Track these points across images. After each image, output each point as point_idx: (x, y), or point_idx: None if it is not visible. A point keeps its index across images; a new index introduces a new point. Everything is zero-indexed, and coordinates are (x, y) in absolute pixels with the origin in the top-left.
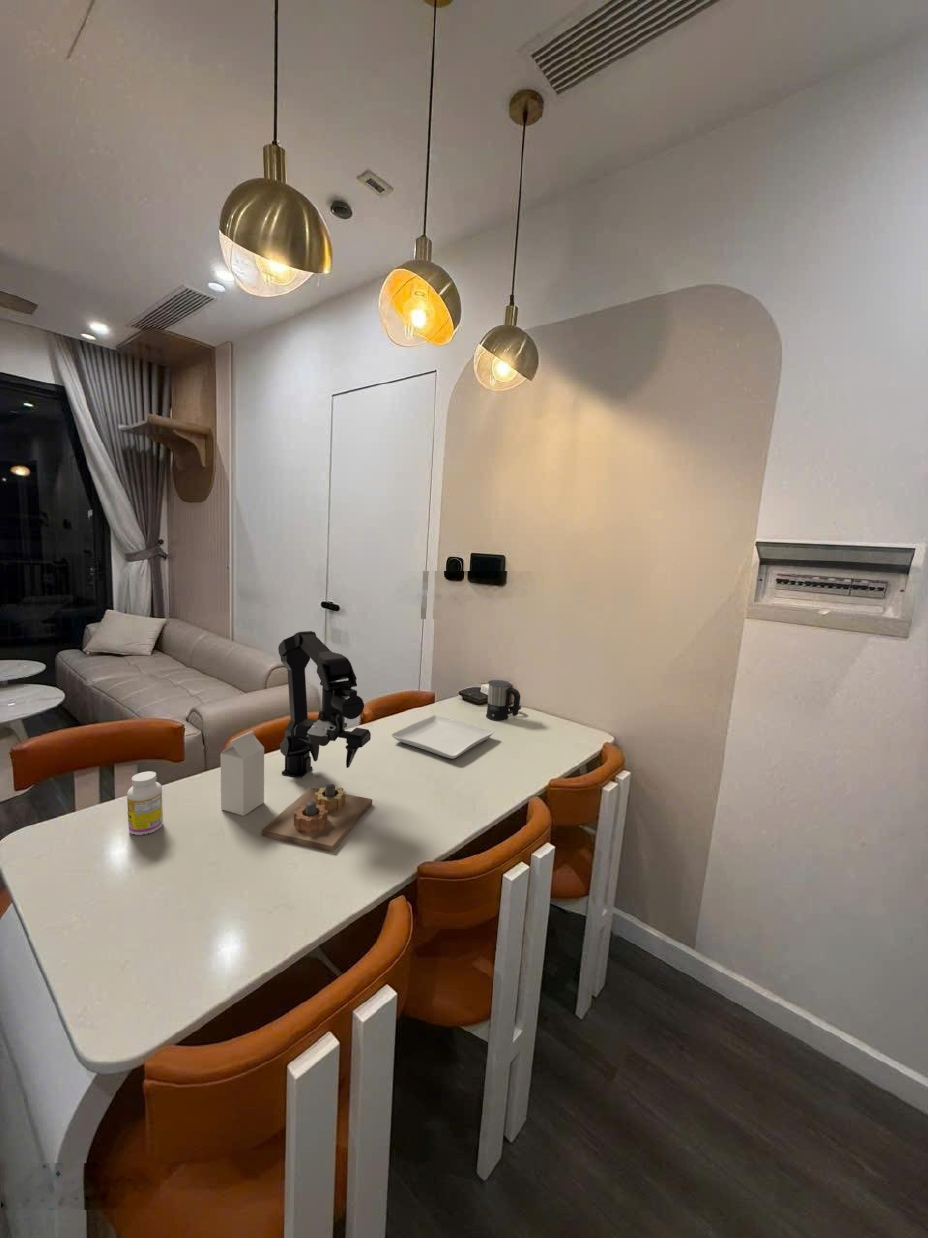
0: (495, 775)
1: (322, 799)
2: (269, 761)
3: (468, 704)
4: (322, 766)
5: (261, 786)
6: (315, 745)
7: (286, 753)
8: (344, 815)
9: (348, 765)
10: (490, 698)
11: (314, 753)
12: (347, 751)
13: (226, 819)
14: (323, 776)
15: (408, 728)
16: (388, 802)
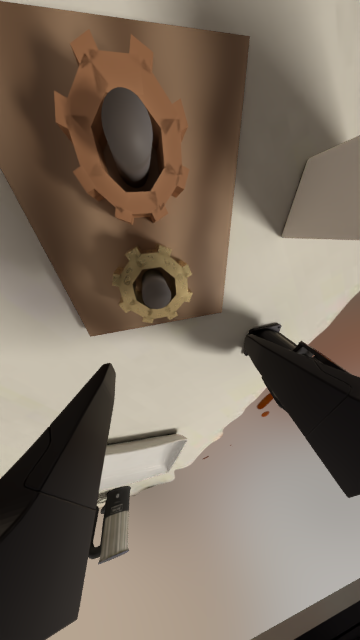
0: (6, 460)
1: (153, 252)
2: (301, 338)
3: (158, 483)
4: (233, 363)
5: (326, 226)
6: (307, 396)
7: (309, 346)
8: (85, 253)
9: (93, 375)
10: (120, 523)
11: (276, 356)
12: (34, 491)
13: (340, 126)
14: (220, 348)
15: (177, 452)
16: (74, 348)
